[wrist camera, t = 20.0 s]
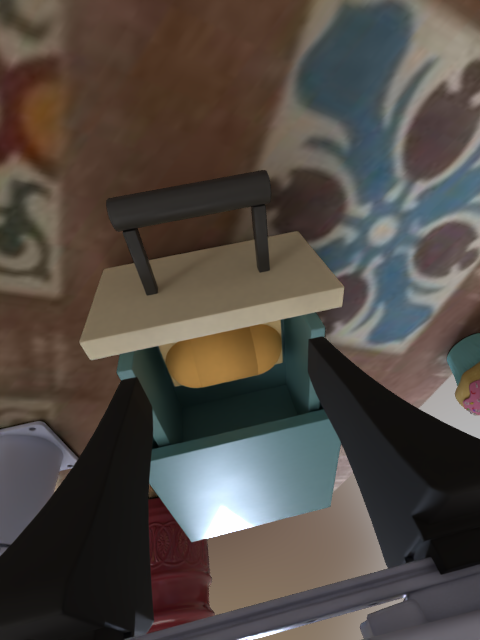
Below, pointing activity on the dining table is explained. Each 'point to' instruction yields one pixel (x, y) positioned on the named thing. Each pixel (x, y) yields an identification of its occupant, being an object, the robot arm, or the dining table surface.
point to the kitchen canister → (176, 571)
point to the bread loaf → (224, 355)
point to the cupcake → (467, 372)
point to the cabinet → (247, 474)
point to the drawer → (210, 308)
